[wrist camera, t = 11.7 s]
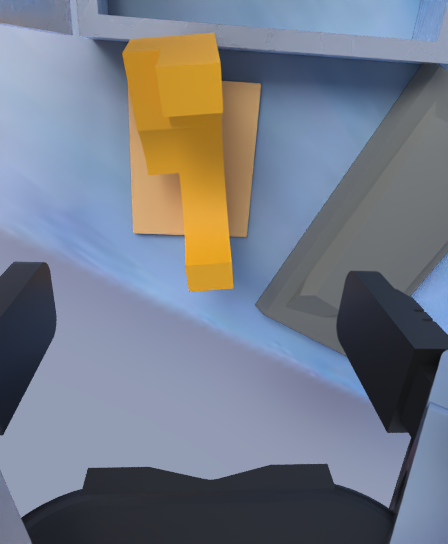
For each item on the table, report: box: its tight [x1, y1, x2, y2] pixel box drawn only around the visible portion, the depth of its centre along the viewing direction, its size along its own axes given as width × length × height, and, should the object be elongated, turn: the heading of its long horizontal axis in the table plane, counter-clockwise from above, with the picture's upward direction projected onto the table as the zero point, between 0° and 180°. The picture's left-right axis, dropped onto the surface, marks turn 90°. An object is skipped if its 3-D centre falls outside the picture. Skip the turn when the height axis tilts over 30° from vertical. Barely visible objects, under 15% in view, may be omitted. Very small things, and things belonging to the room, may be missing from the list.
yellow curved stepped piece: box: [122, 33, 233, 292], centre depth 23 cm, size 12×4×6 cm, turn 4°
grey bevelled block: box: [255, 64, 448, 356], centre depth 29 cm, size 10×20×4 cm, turn 150°
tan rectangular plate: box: [128, 81, 261, 237], centre depth 27 cm, size 8×10×1 cm
